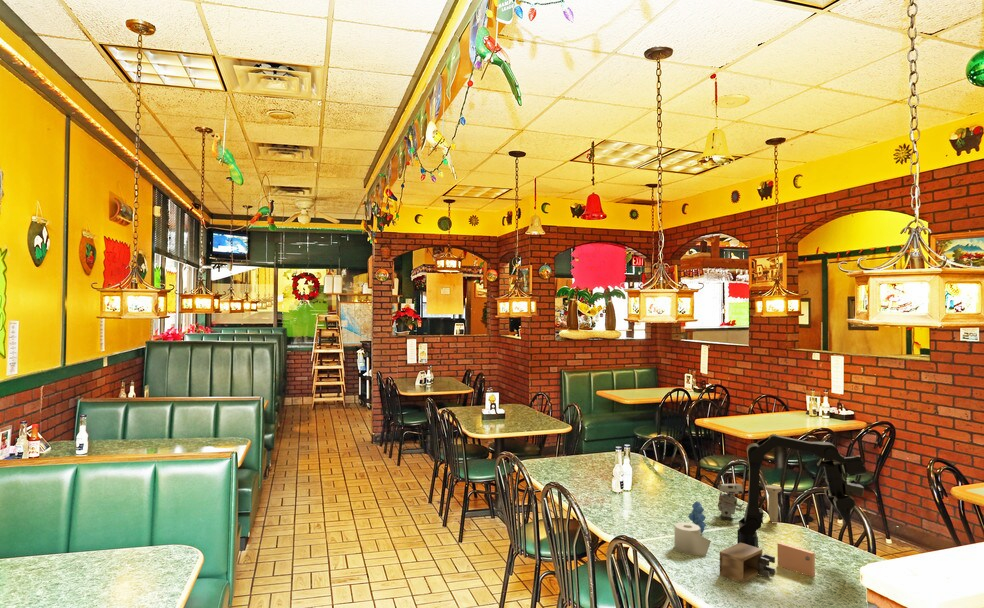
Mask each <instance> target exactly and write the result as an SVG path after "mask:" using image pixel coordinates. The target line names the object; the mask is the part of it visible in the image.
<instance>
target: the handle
mask: <svg viewBox="0 0 984 608" xmlns="http://www.w3.org/2000/svg"><path fill="white" fill-rule="evenodd" d="M764 486H765V487H764V488H765V490H766V491H767V492H768V495H769V496H768V506H767V509H768V518H770V520H769V522H770V523H778V518H779V497H778V494H779V493H780V492H782V487H781V486H778V485H771V484H770V485H769V484H768V485H767V484H766V485H764Z"/></svg>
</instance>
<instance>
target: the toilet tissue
mask: <svg viewBox="0 0 984 608" xmlns="http://www.w3.org/2000/svg"><path fill="white" fill-rule="evenodd" d="M701 534H702V533H701V528H700V527H699V526H698V525H696V524H694V523H692V522H676V523H675V524H674V549H675V551H677V552H680V553H682V554H689V555H696V556H707V554H708V551H709V548H710V545H711V543H712V541H711V540H710V539H708V538H706V537H704V536H702V535H701Z"/></svg>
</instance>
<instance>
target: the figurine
mask: <svg viewBox="0 0 984 608" xmlns="http://www.w3.org/2000/svg"><path fill="white" fill-rule="evenodd" d="M743 489H744V488H743V485H742V484H741V483H738V482H737V483H719V484H718V485H717V490H718V491H719V497H718V503H717V507H718V508H717V509H718V511H720V512H721V513H720V514H721V516H720V519H721V520H724V519H726V520H727V521H732V519H733V518H732V515H735V513H736V511H739V512H742V511H743V512H745V511H746V507H745V502H744V501H743V503H741V504H740V503H738V497H736V496H734V495H735V494H738V495H740V494H742V495H743V494H744V490H743ZM743 506H744V507H743Z"/></svg>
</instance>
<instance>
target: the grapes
mask: <svg viewBox="0 0 984 608" xmlns="http://www.w3.org/2000/svg"><path fill="white" fill-rule="evenodd" d="M691 507H692V510H691V513H689V515H688V516H687V518H689V520H690V521H691V522H693V523H692V524H695V525H698V526H699V527H700V528H701V534H703V533H704V531H705V528H706V526H707V525H706V523H705V522H704V521H705V520H706V516H705V514H703V512H704V510H705V509H704V507H703V506H702V504H701V501H698V500H697V501H695V502H694V503H693V504H692V506H691Z"/></svg>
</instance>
